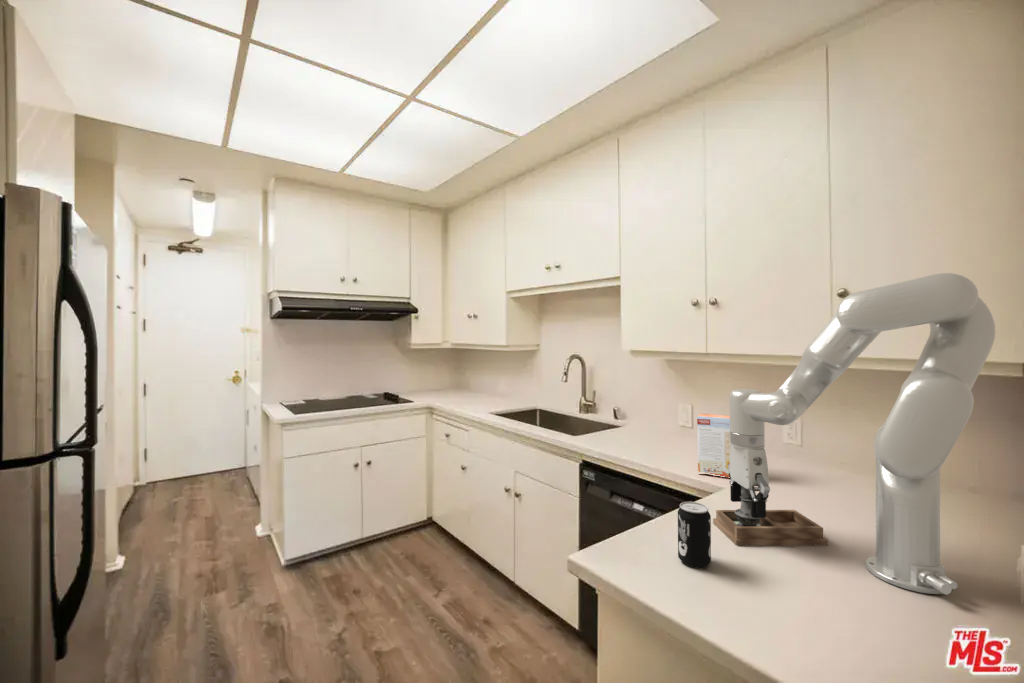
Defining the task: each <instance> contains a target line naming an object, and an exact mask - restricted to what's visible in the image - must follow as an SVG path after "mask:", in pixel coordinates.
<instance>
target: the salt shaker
mask: <svg viewBox="0 0 1024 683" xmlns="http://www.w3.org/2000/svg"><path fill="white" fill-rule="evenodd" d="M752 487H755V486H752ZM740 499H741V502H740V508H738V509H734V510H735V514H736V517H737V519H738V521H739V522H740V523H738V524H737V525H738V526H756V525H757V524H759V522H760V518H753V517H751V500H753V499H752V496H751V493H750V490H748V489H746V488H744V487H743V486H741V496H740Z"/></svg>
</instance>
